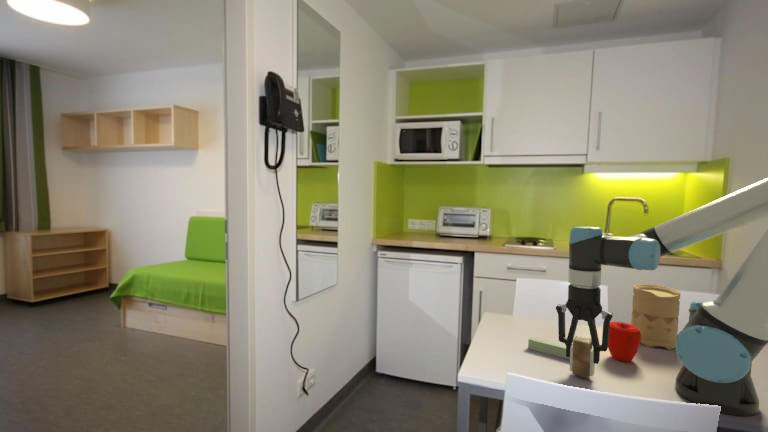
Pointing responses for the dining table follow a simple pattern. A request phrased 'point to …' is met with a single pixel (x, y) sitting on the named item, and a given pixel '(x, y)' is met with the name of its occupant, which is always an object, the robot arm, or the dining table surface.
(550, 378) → the dining table surface
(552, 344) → the rail
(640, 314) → the container
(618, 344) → the apple
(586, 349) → the walnut block
